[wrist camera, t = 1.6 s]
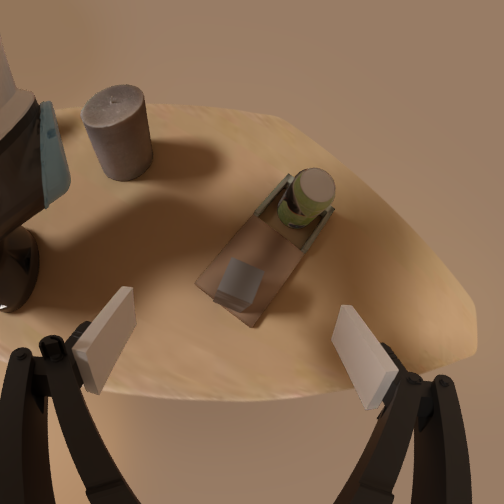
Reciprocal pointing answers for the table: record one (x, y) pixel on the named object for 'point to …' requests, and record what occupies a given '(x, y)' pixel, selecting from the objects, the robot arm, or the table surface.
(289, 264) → the pull strip
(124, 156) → the pillar candle
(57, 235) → the table surface
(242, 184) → the table surface
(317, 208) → the beverage can
